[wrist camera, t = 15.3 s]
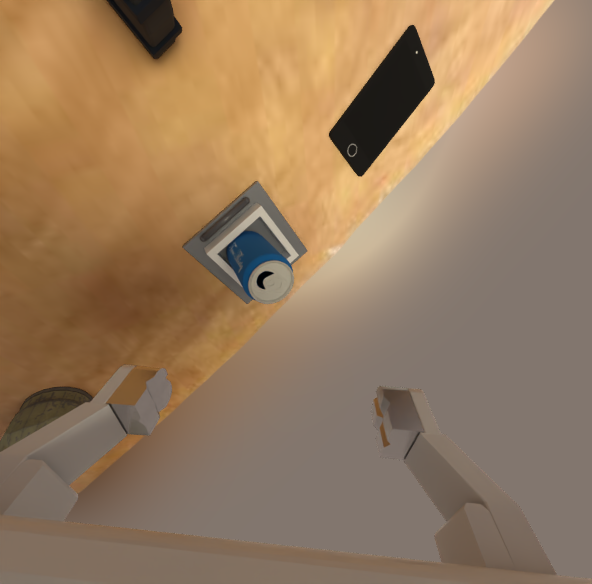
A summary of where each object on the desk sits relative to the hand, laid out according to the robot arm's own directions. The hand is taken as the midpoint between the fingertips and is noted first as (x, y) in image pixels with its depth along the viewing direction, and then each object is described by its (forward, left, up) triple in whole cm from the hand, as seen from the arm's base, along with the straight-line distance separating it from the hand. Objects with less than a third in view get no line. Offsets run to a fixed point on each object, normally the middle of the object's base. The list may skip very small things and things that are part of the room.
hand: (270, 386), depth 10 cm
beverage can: (+2, -8, -31) cm, 32 cm away
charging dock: (+2, -9, -31) cm, 33 cm away
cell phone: (+32, -6, -32) cm, 45 cm away
